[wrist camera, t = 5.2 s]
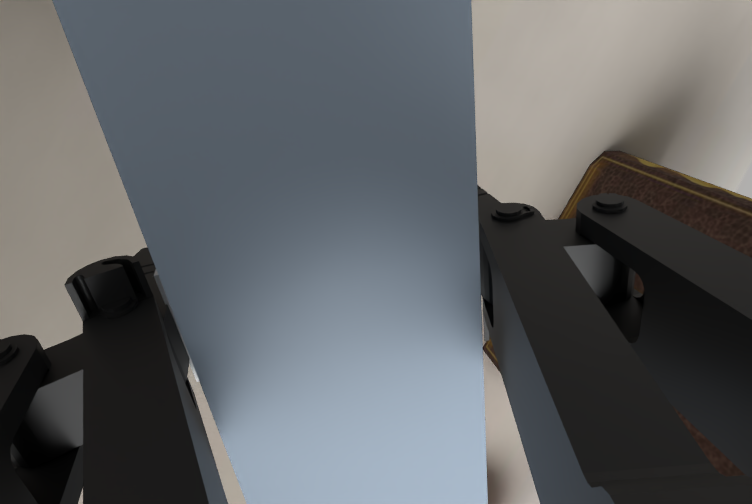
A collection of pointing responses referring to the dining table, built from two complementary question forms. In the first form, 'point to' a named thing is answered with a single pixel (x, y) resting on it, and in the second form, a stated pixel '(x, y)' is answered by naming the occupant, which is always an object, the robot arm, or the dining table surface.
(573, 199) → the book
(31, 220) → the dining table surface
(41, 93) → the dining table surface
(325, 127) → the boxed book
